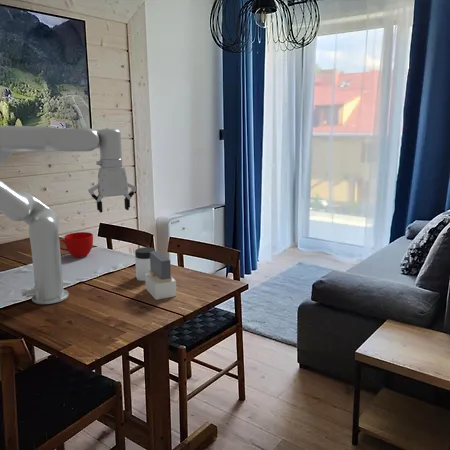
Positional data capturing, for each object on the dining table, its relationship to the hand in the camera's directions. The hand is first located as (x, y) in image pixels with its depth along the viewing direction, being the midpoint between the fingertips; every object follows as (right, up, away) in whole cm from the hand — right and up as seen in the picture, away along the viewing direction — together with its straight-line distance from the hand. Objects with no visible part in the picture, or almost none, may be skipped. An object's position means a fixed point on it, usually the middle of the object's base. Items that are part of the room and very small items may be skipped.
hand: (113, 210), depth 164 cm
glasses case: (+17, -24, +4) cm, 29 cm away
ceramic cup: (-31, -20, +50) cm, 62 cm away
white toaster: (+16, -31, +6) cm, 35 cm away
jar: (+8, -27, +21) cm, 36 cm away
